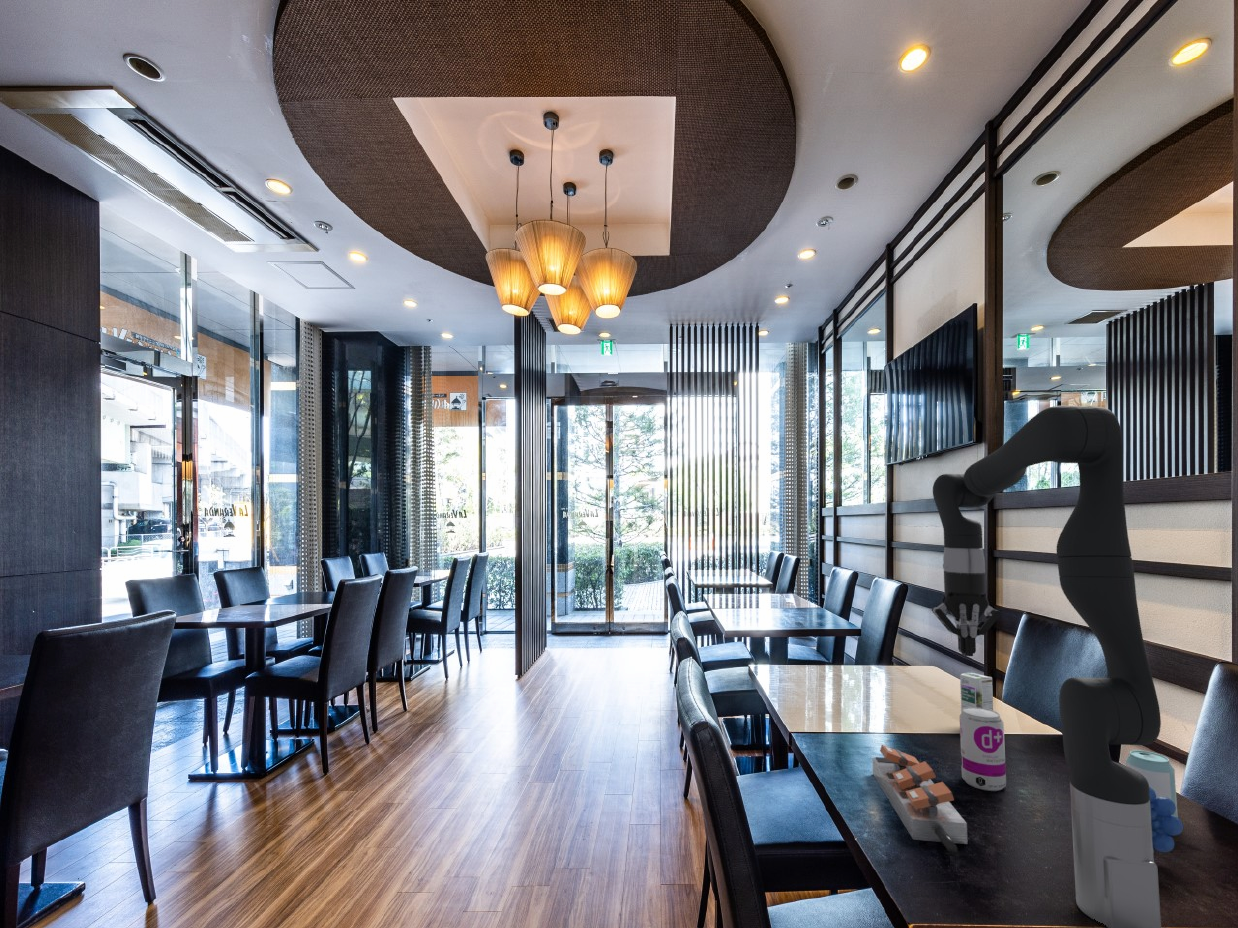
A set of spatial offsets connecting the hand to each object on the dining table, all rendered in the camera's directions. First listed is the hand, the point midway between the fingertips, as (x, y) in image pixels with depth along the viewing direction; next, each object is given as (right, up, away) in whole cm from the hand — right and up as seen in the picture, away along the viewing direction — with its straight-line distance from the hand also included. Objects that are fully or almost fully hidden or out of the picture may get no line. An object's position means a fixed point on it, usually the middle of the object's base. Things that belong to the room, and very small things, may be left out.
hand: (967, 655), depth 125 cm
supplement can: (+7, -30, +6) cm, 31 cm away
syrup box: (+26, -33, +40) cm, 58 cm away
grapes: (+17, -28, -21) cm, 39 cm away
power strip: (-13, -28, -6) cm, 32 cm away
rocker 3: (-14, -22, -12) cm, 29 cm away
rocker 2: (-12, -23, -3) cm, 26 cm away
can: (+30, -29, -9) cm, 43 cm away
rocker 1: (-11, -24, +6) cm, 27 cm away
